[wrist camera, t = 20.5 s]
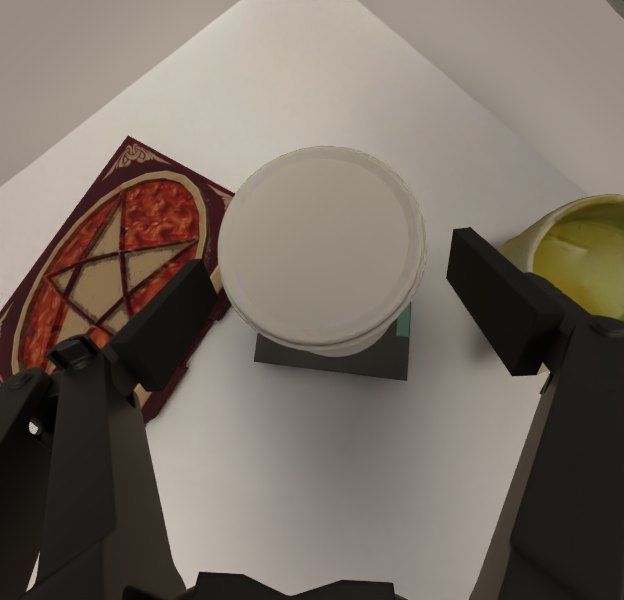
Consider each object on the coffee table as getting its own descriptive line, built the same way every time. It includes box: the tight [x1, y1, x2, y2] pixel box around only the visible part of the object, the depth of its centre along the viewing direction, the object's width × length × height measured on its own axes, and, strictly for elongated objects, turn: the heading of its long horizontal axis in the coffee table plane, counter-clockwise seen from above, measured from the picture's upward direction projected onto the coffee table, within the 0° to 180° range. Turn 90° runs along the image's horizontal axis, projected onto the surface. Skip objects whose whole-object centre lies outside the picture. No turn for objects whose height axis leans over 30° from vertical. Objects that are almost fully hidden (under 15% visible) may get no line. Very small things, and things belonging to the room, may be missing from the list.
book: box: [0, 136, 235, 425], centre depth 28 cm, size 28×21×5 cm
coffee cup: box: [218, 146, 427, 351], centre depth 17 cm, size 9×9×12 cm
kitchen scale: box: [254, 301, 411, 381], centre depth 25 cm, size 13×13×3 cm
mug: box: [497, 194, 624, 375], centre depth 20 cm, size 12×10×10 cm
